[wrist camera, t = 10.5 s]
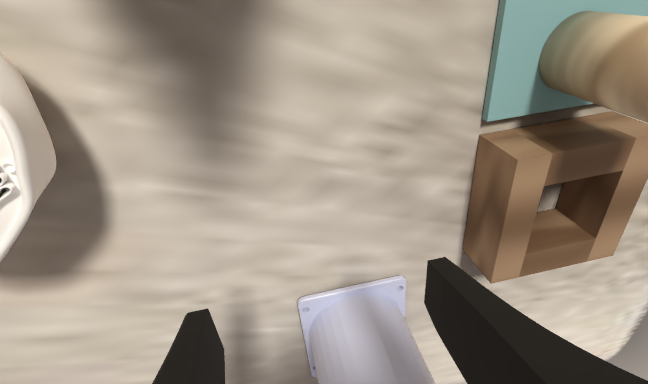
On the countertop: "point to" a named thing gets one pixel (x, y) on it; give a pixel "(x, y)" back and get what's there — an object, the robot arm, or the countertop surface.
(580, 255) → the walnut block
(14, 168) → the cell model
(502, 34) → the teal mat
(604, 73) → the maple plug
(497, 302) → the robot arm
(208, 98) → the countertop surface
